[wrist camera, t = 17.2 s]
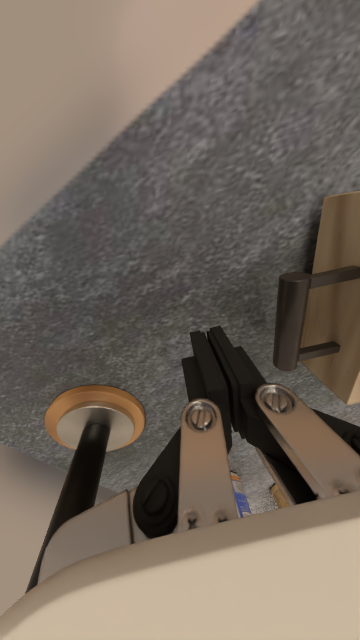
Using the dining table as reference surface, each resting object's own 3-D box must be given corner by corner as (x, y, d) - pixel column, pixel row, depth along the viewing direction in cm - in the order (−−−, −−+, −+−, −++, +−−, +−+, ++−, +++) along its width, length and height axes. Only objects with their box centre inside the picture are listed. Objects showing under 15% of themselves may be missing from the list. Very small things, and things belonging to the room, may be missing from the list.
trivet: (74, 452, 20) (71, 460, 20) (28, 397, 16) (22, 405, 15) (154, 433, 21) (154, 441, 20) (129, 375, 16) (128, 381, 16)
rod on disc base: (78, 452, 19) (18, 632, 11) (44, 410, 16) (-81, 620, 8) (143, 437, 19) (133, 603, 11) (121, 393, 16) (84, 580, 8)
